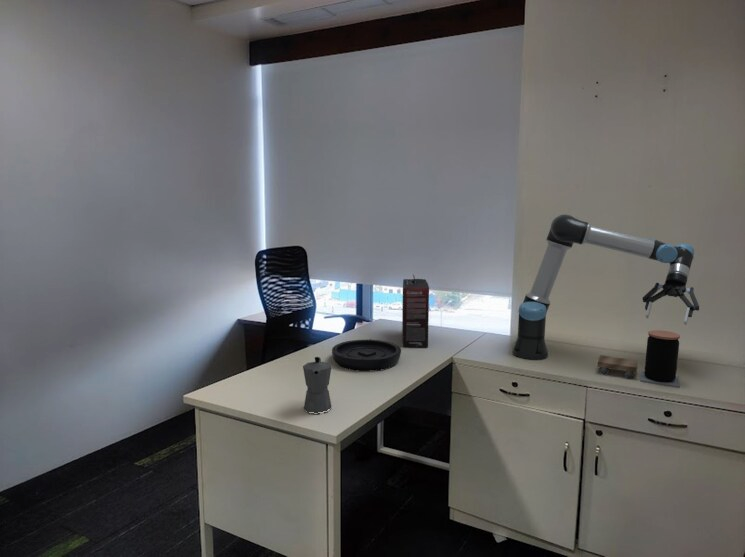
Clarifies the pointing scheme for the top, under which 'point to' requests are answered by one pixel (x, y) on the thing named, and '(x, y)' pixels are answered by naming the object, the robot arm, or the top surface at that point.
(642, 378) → the pad
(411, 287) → the headset box
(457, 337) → the top surface
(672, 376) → the coffee jar
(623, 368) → the brown toy cart
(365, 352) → the round tray
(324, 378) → the coffeepot
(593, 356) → the top surface
